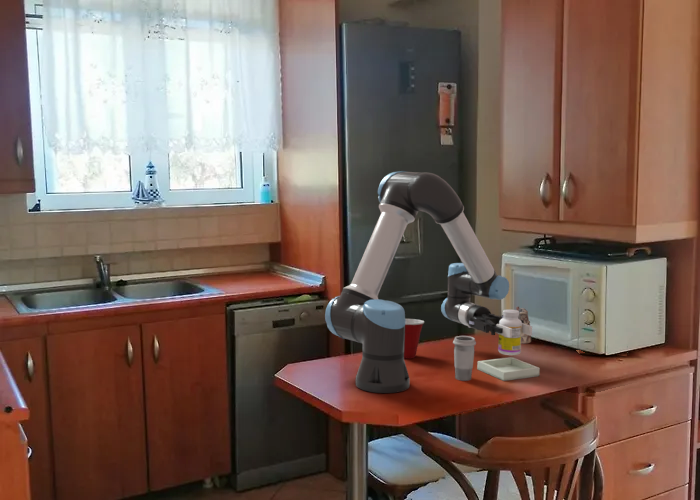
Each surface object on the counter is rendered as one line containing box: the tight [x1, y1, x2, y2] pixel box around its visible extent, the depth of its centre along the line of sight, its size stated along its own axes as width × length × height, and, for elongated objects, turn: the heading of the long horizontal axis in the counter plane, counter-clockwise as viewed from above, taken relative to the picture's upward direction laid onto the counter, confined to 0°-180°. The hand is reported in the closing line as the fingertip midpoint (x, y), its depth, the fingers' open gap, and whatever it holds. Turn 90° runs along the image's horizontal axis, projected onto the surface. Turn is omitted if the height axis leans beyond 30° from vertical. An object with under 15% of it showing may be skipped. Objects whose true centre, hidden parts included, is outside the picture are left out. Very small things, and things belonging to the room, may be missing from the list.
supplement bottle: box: [497, 308, 522, 356], centre depth 224 cm, size 7×7×13 cm
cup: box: [452, 335, 477, 382], centre depth 218 cm, size 7×7×12 cm
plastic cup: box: [404, 318, 425, 359], centre depth 242 cm, size 11×11×12 cm
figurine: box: [515, 306, 532, 344], centre depth 265 cm, size 7×7×12 cm
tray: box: [476, 356, 540, 382], centre depth 226 cm, size 13×13×2 cm
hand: (520, 332), depth 220 cm, fingers closed on supplement bottle, 7 cm apart
